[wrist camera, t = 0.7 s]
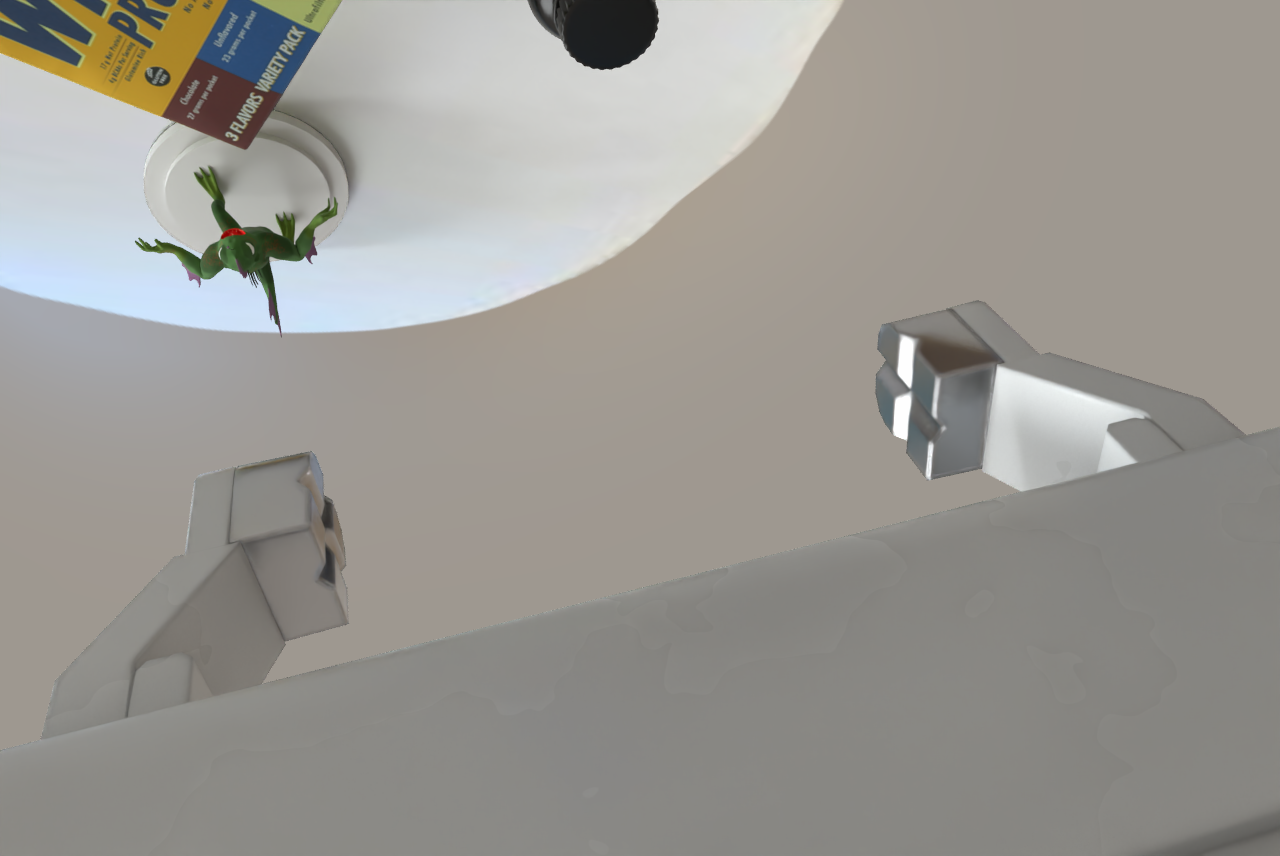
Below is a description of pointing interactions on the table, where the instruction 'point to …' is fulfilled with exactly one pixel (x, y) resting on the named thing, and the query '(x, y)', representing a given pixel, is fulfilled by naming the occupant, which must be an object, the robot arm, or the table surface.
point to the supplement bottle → (600, 28)
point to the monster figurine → (245, 198)
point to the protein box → (173, 53)
